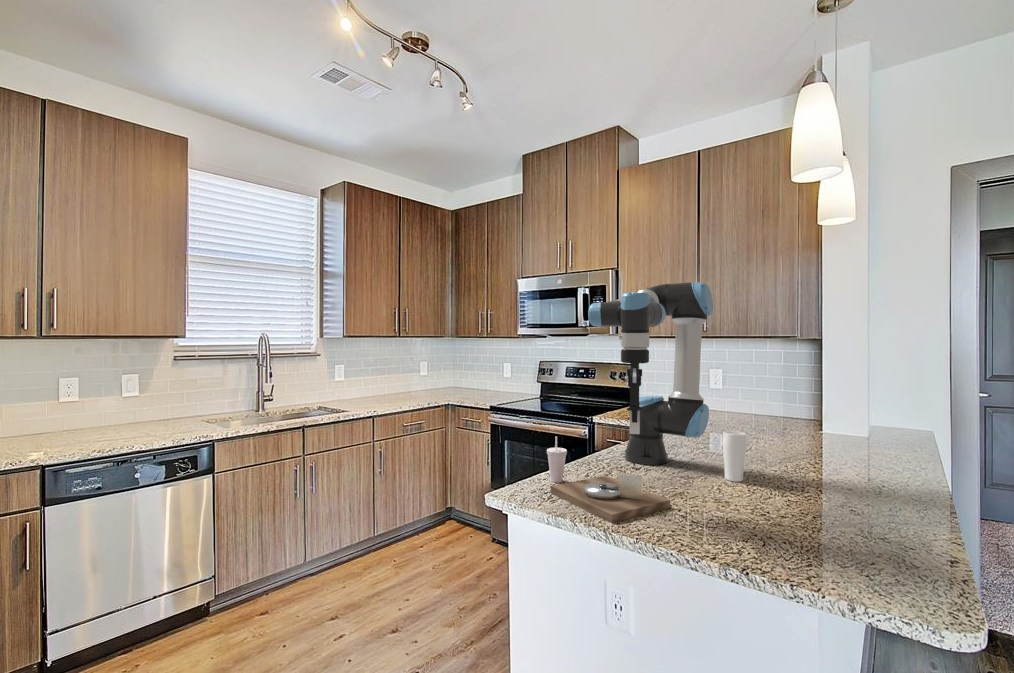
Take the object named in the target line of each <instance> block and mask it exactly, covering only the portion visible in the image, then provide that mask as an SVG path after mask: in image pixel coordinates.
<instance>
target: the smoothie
mask: <svg viewBox="0 0 1014 673" xmlns="http://www.w3.org/2000/svg"><path fill="white" fill-rule="evenodd" d="M554 438H555V444H554V447H549V448H547V449H546V455H547V459H548V460H547V461H548V467H549V468H548V469H549V470H548V471H549V477H550V478H549V479H550V482H552V483H556V484H557V483H559V484H560V483H562V482H563V480H564V471H565V464H566V458H567V454H568V450H567V449H566V448H563V447H558V436H555V437H554Z"/></svg>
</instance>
